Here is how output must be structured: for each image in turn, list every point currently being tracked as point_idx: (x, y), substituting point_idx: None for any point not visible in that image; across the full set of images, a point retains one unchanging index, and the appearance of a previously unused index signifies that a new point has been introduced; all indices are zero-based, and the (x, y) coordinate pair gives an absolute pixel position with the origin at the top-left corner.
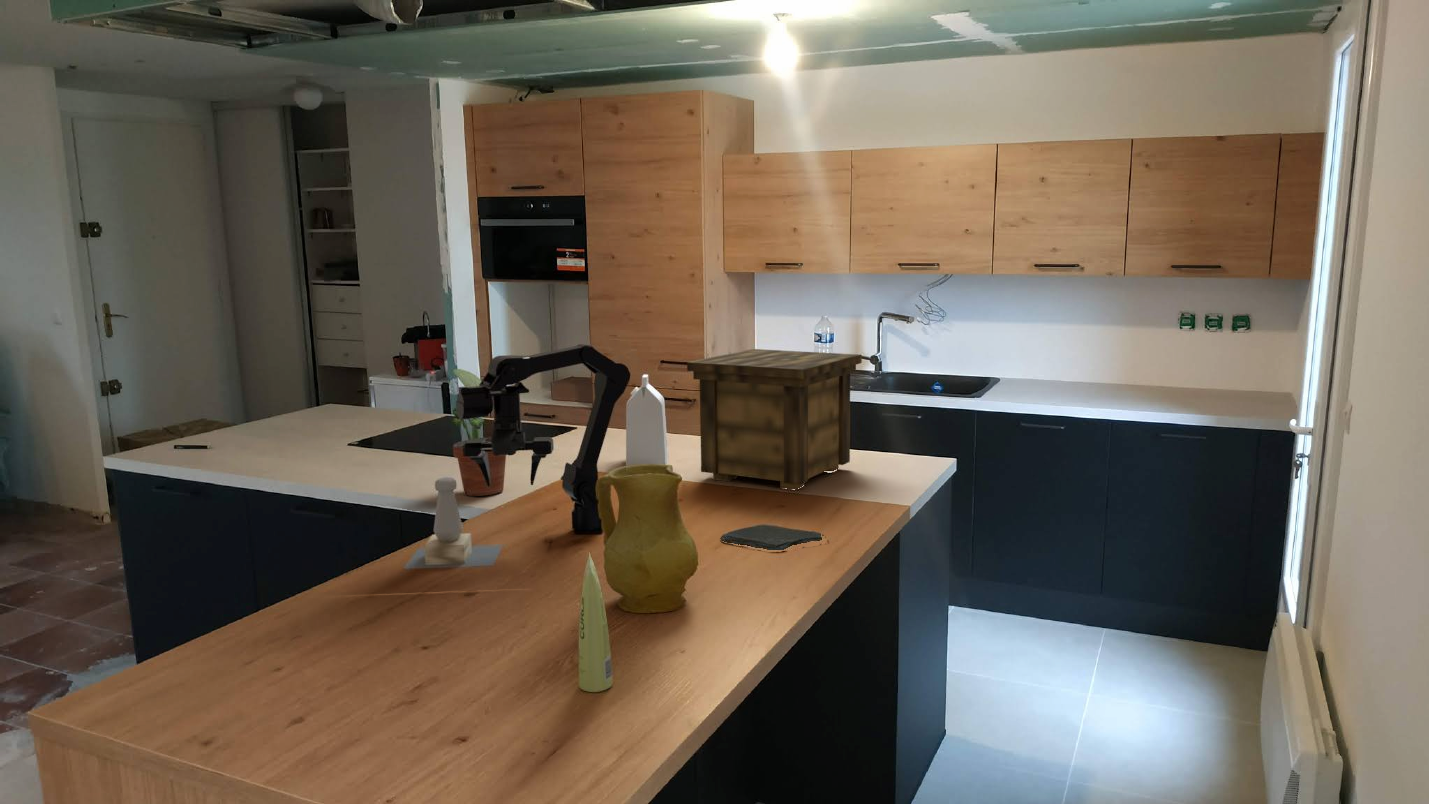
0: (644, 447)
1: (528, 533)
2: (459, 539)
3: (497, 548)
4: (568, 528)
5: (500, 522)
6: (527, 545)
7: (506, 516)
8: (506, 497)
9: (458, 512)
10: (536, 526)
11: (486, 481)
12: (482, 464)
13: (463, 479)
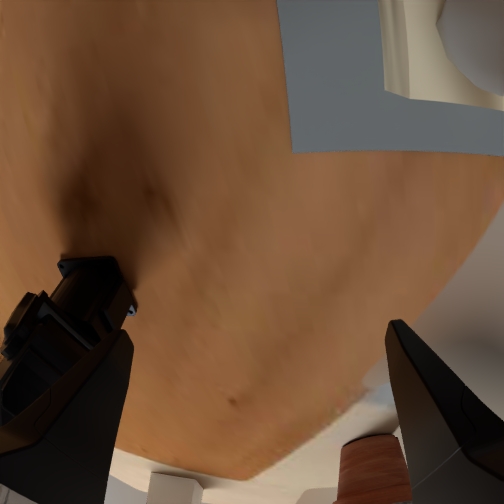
0: (170, 496)
1: (242, 271)
2: (433, 24)
3: (303, 114)
4: (150, 301)
5: (335, 346)
6: (211, 159)
7: (325, 375)
8: (334, 436)
9: (499, 20)
10: (237, 320)
11: (418, 339)
12: (486, 443)
13: (402, 456)
